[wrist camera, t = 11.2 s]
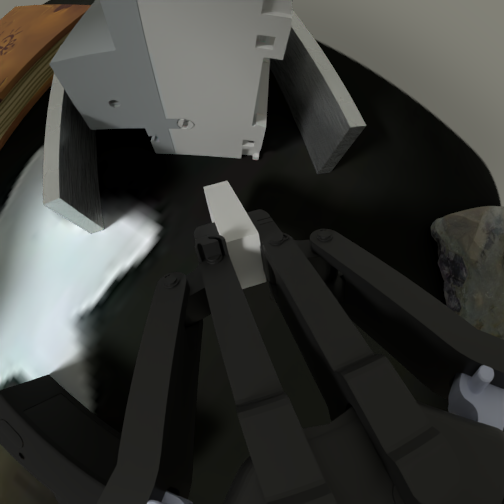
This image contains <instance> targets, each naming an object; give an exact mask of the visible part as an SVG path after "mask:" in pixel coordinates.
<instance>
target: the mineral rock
mask: <svg viewBox="0 0 504 504" xmlns="http://www.w3.org/2000/svg"><path fill="white" fill-rule="evenodd" d="M431 235H432V237H433V238H434V240H435V241H437V244H438V256H439V260H438V266H439V268H440V271H441V274H442V277H443V279H444V297H445V299H446V305H447V307H449V308H450V309H451V310H453V311H454V312H455V313H457V314H458V315H459V316H461V317H462V318H463V319H465V320H466V321H467V322H469V323H470V324H471V325H472V326H474V327H475V328H476V329H478V330H481V331H483V332H486V333H488V334H491V335H493V336H496V337H498V338H501V339H503V340H504V207H501V206H484V207H477V208H472V209H468V210H464V211H460V212H456V213H452V214H449V215H447V216H444V217H442V218H438V219H436V220H435V221H434V222H433V223H432V225H431Z"/></svg>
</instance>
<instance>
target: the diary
mask: <svg viewBox="0 0 504 504" xmlns="http://www.w3.org/2000/svg"><path fill="white" fill-rule="evenodd" d="M90 6H91V5H31V6H18V7H15V8H13V9H12V10H11V11H10V12H9V13H8V14H6V15H5V16H4V17H3V18H2V19H1V20H0V150H1V149H2V147H3V146H4V144H5V143H6V141H7V140H8V138H9V137H10V136H11V134H12V133H13V131H14V130H15V129H16V127H17V126H18V125H19V123H20V122H21V121H22V119H23V118H24V117H25V116H26V114H27V113H28V112H29V110H30V109H31V108H32V107H33V106H34V104H35V103H36V102H37V101H38V100H39V98H40V97H41V96H42V95H43V94H44V93H45V92H46V91H47V89H48V88H49V87H50V86H51V85H52V81H53V76H54V72H53V69H52V68H51V66H50V65H49V64H50V62H51V61H52V59H53V57H54V56H55V54H56V53H57V51H58V50H59V48H60V46H61V45H62V44H63V42H64V41H65V39H66V38H67V36H68V35H69V34H70V32H71V31H72V29H73V28H74V27H75V25H76V24H77V23H78V21H79V20H80V19H81V18H82V16H83V15H84V14H85V12H86V11H87V10H88V9H89V8H90Z"/></svg>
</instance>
